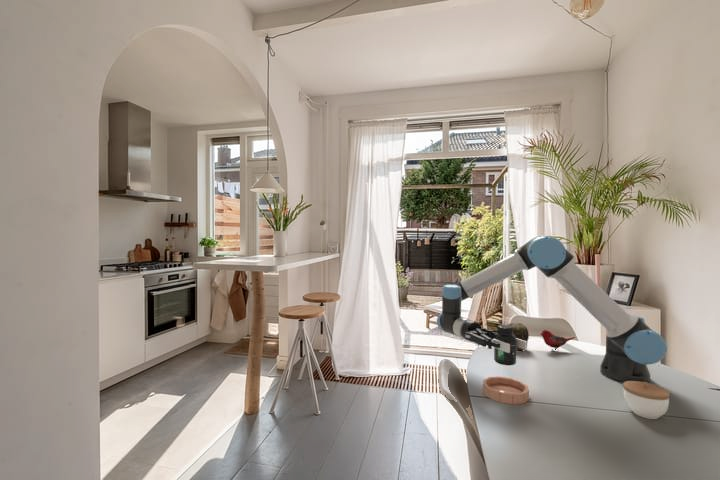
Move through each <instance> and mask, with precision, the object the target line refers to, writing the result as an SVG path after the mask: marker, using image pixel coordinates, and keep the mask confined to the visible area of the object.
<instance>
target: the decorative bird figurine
mask: <svg viewBox="0 0 720 480" xmlns="http://www.w3.org/2000/svg"><path fill="white" fill-rule="evenodd" d="M540 336H541V337H542V339H543V342H544V343H545V344H546V345H547V346H548V347H551V348H552V349H551V350H553V349H555V350H556V349H559V348H561V347H563V346H564V345H565V344H566V343H567V342H569V341H571V340H574V339H576V337H575V336H573V337H567V338H565V337H563V336H560V335H557V334H553V333H552V332H551V331H550V330H547V329H544V330H542V332H541V333H540Z"/></svg>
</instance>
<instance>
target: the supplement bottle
mask: <svg viewBox="0 0 720 480" xmlns="http://www.w3.org/2000/svg"><path fill="white" fill-rule="evenodd" d="M496 330H497V331H498V333H496V334H495V336H494V339H497V340H499V341H502V342H505V343H508V344H510V353H507V352H504V351H502V350H499V349H497V348H494V347H493V348H494V349H493V360H494V361H495V363H496V364H499V365H502V366H514V365H516V364H517V352H516V337H515V336H514V335H513V334H512V333H513V327H512V326H509V325H507V324H498V325H497V329H496Z"/></svg>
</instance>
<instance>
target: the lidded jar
mask: <svg viewBox="0 0 720 480" xmlns="http://www.w3.org/2000/svg"><path fill="white" fill-rule="evenodd" d="M622 387H623V397H624V400H625V403H626V405H627V407H628V408H630V410H631V411H632V412H633V413H634V414H635V415H636V416H638V417H640V418H645V419H649V420H658V419H659V418H660V417H662V416H664V415H665V414H666V413H667V411H668V409H669V406H670V395H671V393H670V392H669V391H668V390H667V389H666V388H663V387H661V386H659V385H657V384H653V383H650V382H649V383H647V382H640V381H626V382H623V383H622Z"/></svg>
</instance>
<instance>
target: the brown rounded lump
mask: <svg viewBox="0 0 720 480" xmlns="http://www.w3.org/2000/svg"><path fill="white" fill-rule="evenodd" d="M506 325H509V326H512V327H513V333H512V334H513V335H514V336H515V337H516V338H518V339H521V340H524V341H527V343H529V342H528V340H529V339H530V335H529V330H528V328H527V326H526V325H524V324H523V323H522V322H515V323H514V322H511V323H507V324H506ZM523 350H524V349H521V348H518V347H516V351H521V352H524V351H523Z"/></svg>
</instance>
